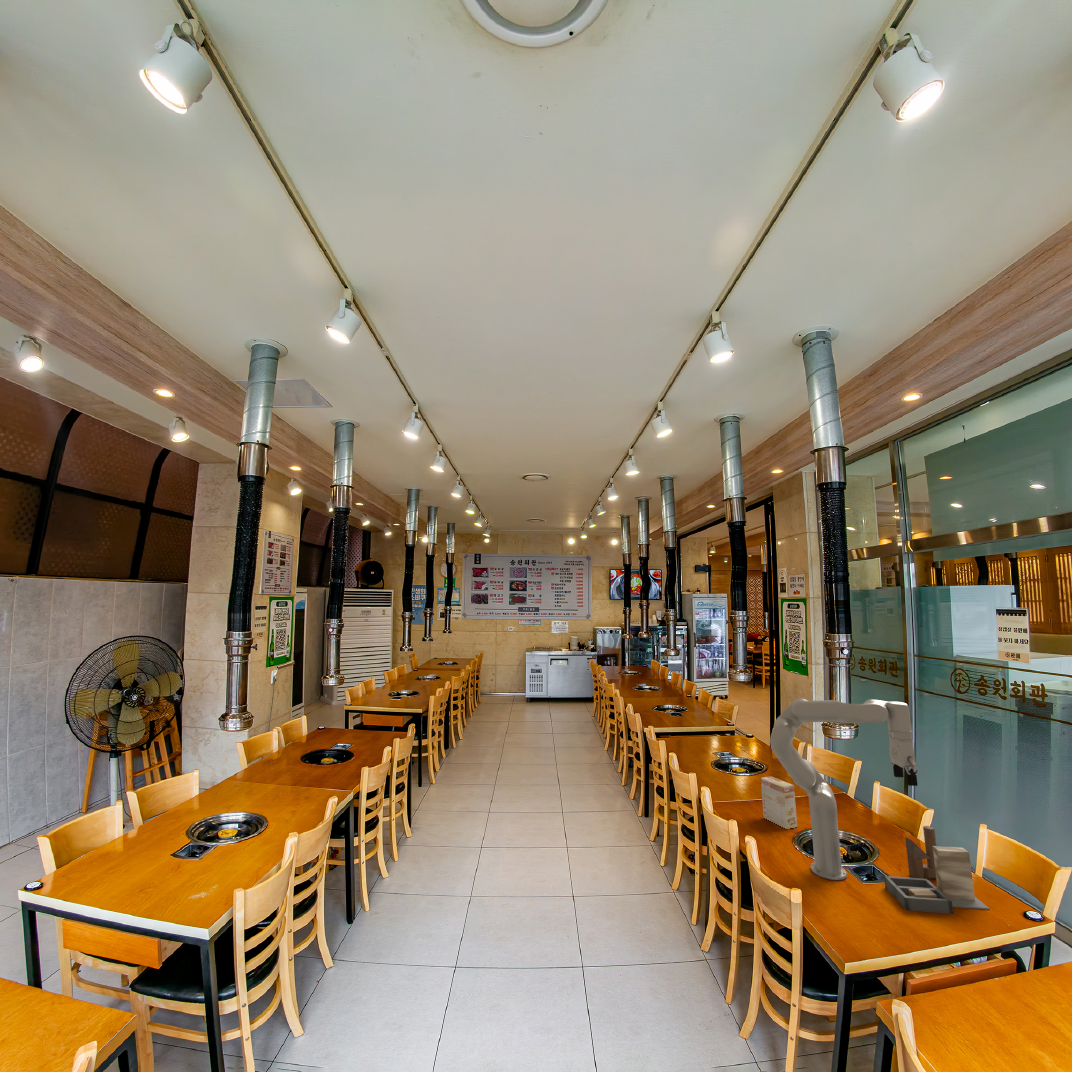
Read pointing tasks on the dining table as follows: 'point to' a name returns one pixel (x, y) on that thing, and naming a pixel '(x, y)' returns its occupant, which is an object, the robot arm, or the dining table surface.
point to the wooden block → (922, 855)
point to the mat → (968, 904)
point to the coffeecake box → (779, 802)
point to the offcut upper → (921, 893)
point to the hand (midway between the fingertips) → (905, 781)
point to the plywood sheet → (953, 872)
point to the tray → (901, 893)
